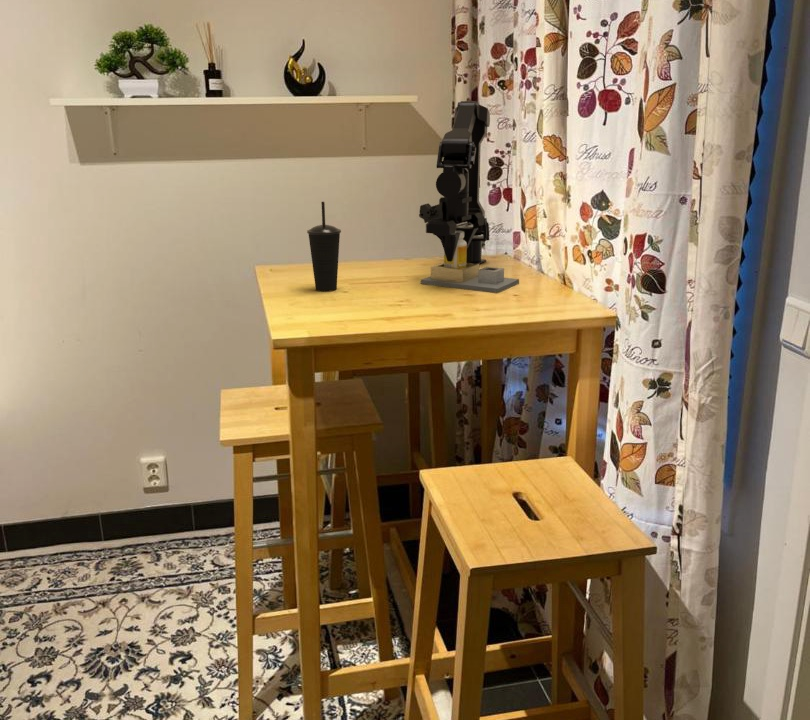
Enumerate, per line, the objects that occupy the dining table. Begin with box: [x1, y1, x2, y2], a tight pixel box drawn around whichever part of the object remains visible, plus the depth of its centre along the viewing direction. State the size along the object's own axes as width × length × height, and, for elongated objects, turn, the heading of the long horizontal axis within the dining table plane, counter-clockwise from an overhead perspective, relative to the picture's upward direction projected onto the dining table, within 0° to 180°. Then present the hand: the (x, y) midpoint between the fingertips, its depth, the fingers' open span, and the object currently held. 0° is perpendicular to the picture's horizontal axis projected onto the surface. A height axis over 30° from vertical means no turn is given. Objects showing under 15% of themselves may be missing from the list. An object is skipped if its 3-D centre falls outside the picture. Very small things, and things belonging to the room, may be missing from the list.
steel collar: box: [478, 266, 505, 285], centre depth 184 cm, size 4×4×3 cm
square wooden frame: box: [430, 261, 480, 283], centre depth 188 cm, size 8×8×3 cm
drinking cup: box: [306, 201, 342, 292], centre depth 179 cm, size 8×8×20 cm
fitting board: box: [420, 275, 520, 294], centre depth 187 cm, size 12×20×1 cm, turn 58°
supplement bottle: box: [443, 231, 467, 269], centre depth 187 cm, size 5×5×10 cm
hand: (455, 259), depth 188 cm, fingers closed on supplement bottle, 5 cm apart
